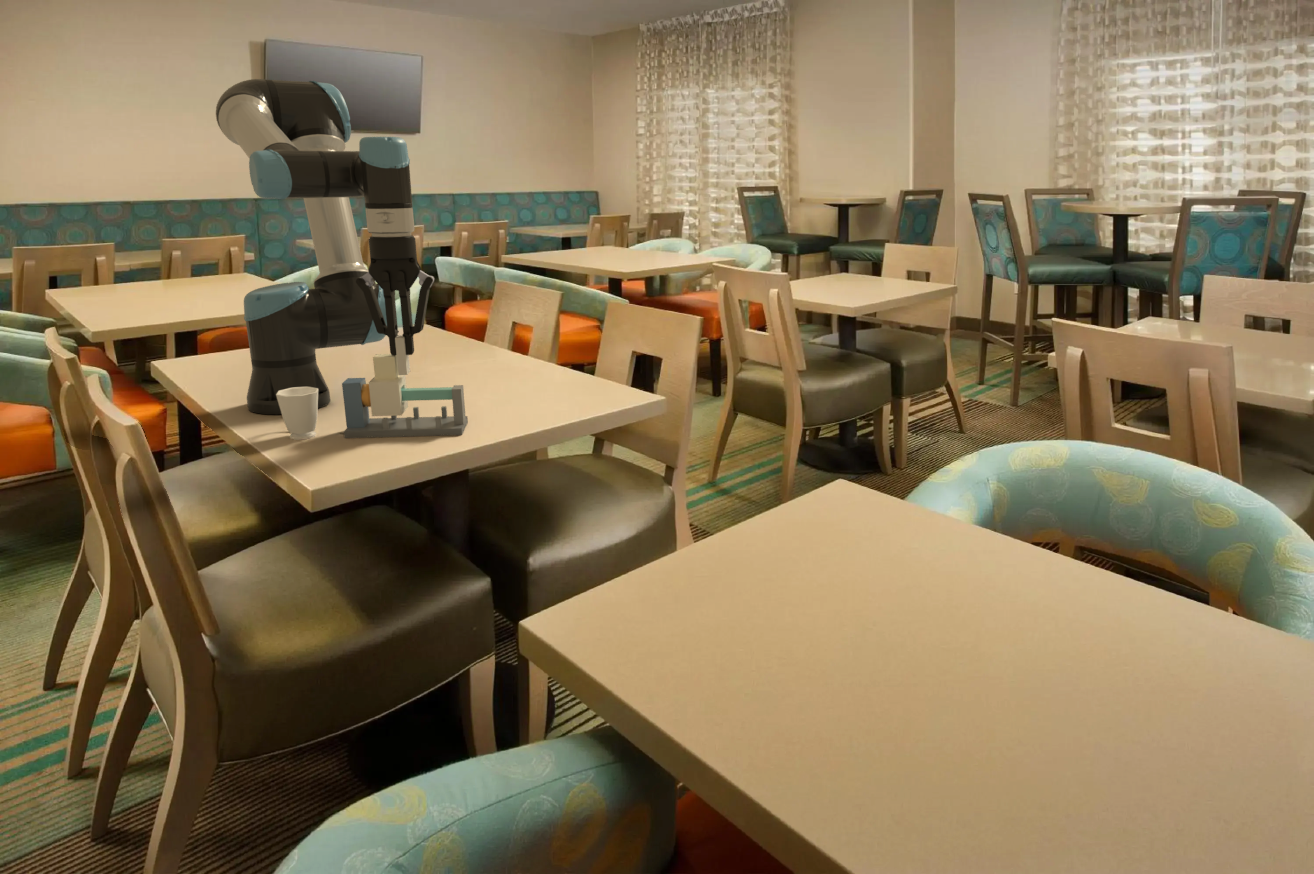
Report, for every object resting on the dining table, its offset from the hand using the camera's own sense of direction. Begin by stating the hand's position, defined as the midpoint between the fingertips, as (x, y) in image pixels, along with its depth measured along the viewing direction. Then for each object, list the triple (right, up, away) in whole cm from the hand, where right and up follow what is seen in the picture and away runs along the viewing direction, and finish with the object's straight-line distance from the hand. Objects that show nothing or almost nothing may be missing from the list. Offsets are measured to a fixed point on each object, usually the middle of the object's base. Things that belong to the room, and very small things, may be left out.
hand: (404, 373), depth 152 cm
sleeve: (-3, -7, +2) cm, 7 cm away
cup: (-18, -11, +1) cm, 21 cm away
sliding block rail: (0, -10, +3) cm, 10 cm away
